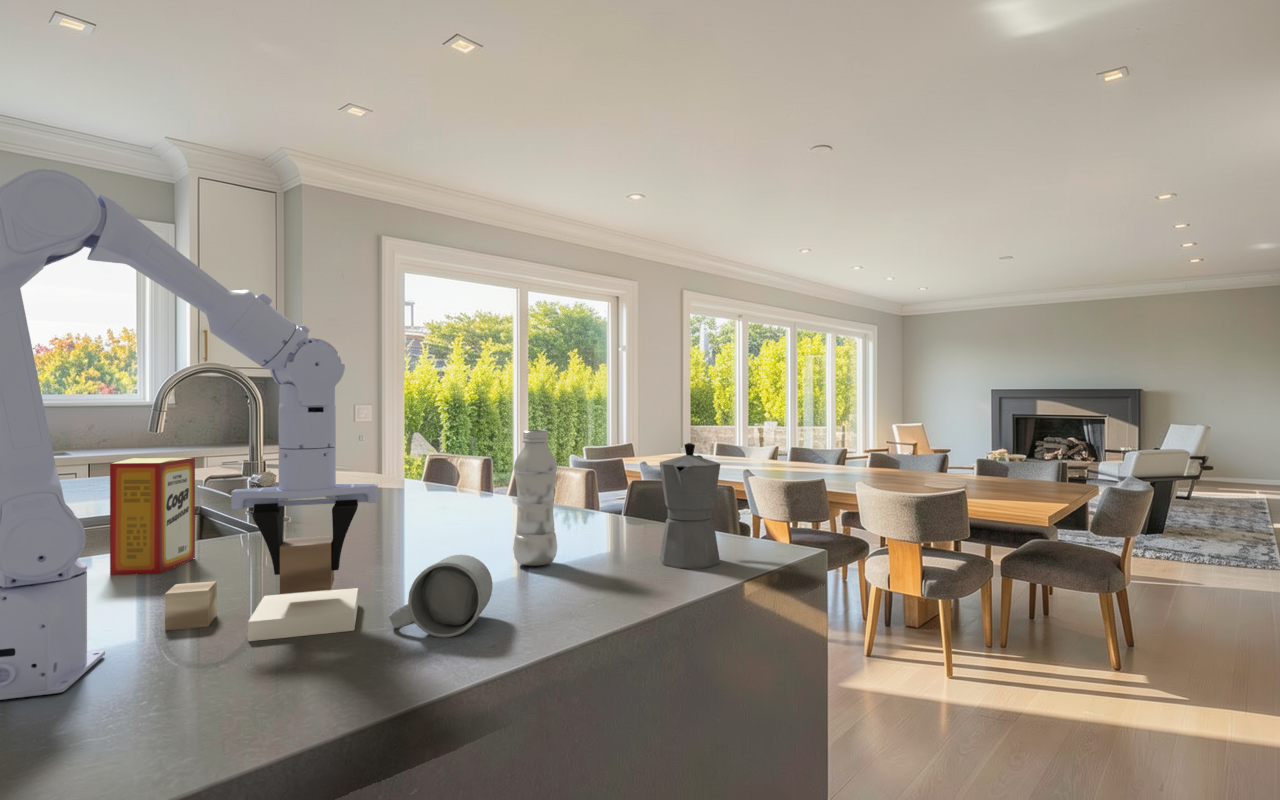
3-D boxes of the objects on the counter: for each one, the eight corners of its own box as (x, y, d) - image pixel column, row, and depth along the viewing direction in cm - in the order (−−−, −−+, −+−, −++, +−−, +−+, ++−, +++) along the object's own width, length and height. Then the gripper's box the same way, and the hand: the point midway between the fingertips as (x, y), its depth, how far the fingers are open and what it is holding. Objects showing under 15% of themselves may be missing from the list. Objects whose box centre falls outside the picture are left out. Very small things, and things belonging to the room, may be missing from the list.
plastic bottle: (505, 568, 102) (505, 431, 102) (525, 558, 109) (525, 429, 109) (545, 571, 100) (545, 431, 100) (564, 561, 107) (564, 429, 107)
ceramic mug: (496, 613, 81) (494, 546, 81) (482, 637, 73) (480, 563, 73) (402, 616, 81) (401, 548, 81) (378, 640, 72) (376, 565, 72)
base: (354, 630, 75) (354, 611, 75) (248, 641, 71) (248, 621, 71) (358, 604, 84) (358, 587, 84) (264, 613, 81) (264, 595, 81)
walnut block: (330, 589, 77) (330, 543, 77) (279, 593, 75) (279, 546, 75) (334, 578, 81) (334, 535, 81) (286, 582, 80) (286, 538, 80)
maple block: (208, 627, 76) (208, 590, 76) (164, 631, 75) (165, 593, 75) (216, 616, 80) (216, 581, 80) (175, 619, 79) (175, 584, 79)
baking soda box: (149, 559, 108) (149, 455, 108) (194, 558, 109) (194, 455, 109) (110, 575, 99) (110, 460, 99) (159, 573, 99) (159, 460, 99)
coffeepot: (712, 574, 99) (712, 446, 99) (647, 570, 102) (648, 445, 101) (729, 551, 114) (729, 440, 114) (672, 548, 116) (672, 439, 116)
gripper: (378, 443, 84) (378, 557, 84) (240, 446, 79) (240, 567, 79) (377, 447, 77) (377, 571, 77) (226, 451, 73) (227, 583, 73)
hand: (307, 570), depth 78 cm, fingers closed on walnut block, 5 cm apart
